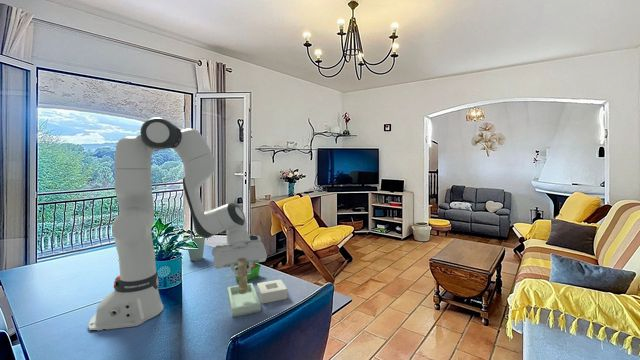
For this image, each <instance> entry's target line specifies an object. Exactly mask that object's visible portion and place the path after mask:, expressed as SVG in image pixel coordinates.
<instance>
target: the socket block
mask: <svg viewBox="0 0 640 360" xmlns="http://www.w3.org/2000/svg"><path fill="white" fill-rule="evenodd" d="M256 285H257V286H256V288H257V289H256V290H257V291H256V293H257V296H258V298H259V301H260V303H261V304H267V303H268V304H269V303H272V302H278V301H283V300H287V299H288V288H287V286H286V284H285V283H284V281H282V279H281V278H280V279H275V280H269V281H263V282H262V281H261V282H258V283H257V284H256Z"/></svg>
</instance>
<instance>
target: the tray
mask: <svg viewBox="0 0 640 360" xmlns="http://www.w3.org/2000/svg"><path fill="white" fill-rule="evenodd" d="M247 286H248V292H247V293H245V294H240V293H239V284H238V285H233V286H228V287H227V296H228V302H229V307H230V312H231V317H232V318H235V317H236V318H237V317H241V316H245V315H246V316H247V315H249V314H254V313H261V312H262V309H261V304H262V302H261V300H260V298H259V295H258V293H257V291H256V288H255V286H254V284H253V282H251V283H247Z"/></svg>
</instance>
